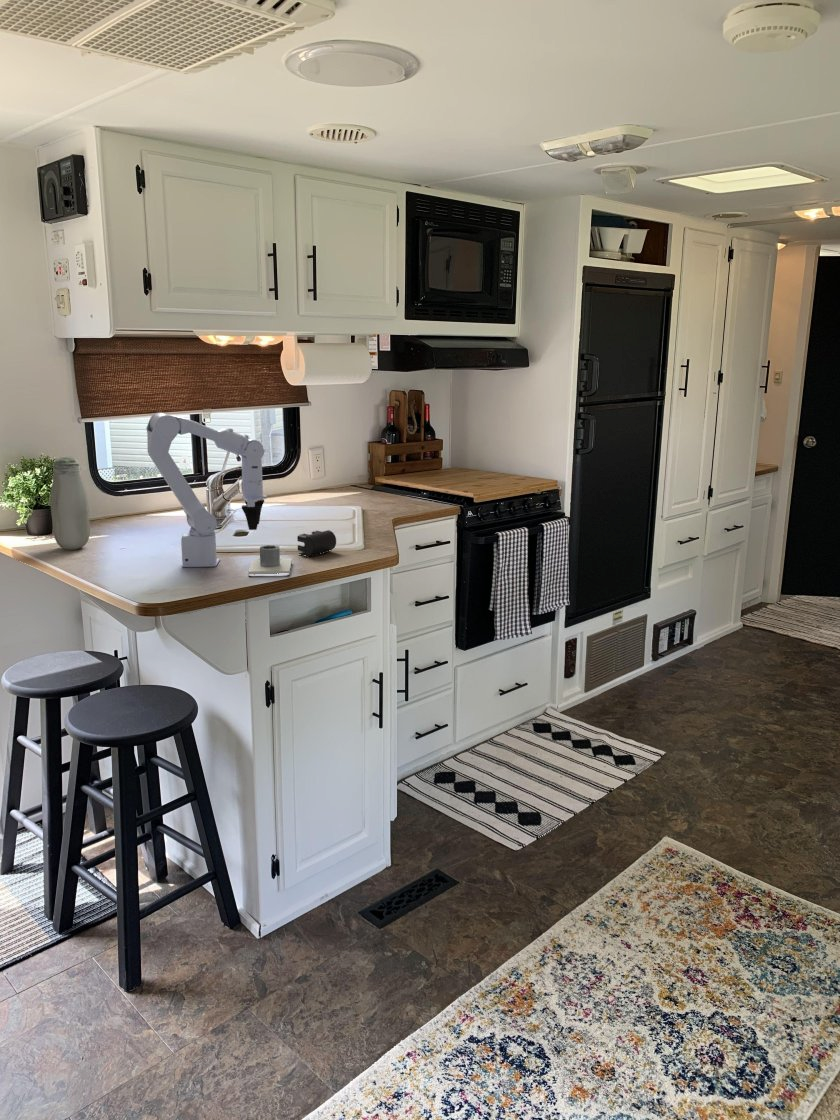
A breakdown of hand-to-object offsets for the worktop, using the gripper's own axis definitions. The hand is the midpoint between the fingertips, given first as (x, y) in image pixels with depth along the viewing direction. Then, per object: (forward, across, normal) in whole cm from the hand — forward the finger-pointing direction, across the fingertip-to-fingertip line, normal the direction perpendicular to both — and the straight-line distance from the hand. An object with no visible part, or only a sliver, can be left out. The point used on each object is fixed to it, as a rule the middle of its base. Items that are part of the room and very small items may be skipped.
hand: (254, 526), depth 248 cm
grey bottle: (+10, +15, +56) cm, 59 cm away
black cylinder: (+10, +4, -18) cm, 21 cm away
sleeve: (+8, -14, -5) cm, 17 cm away
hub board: (+9, -14, -6) cm, 18 cm away
